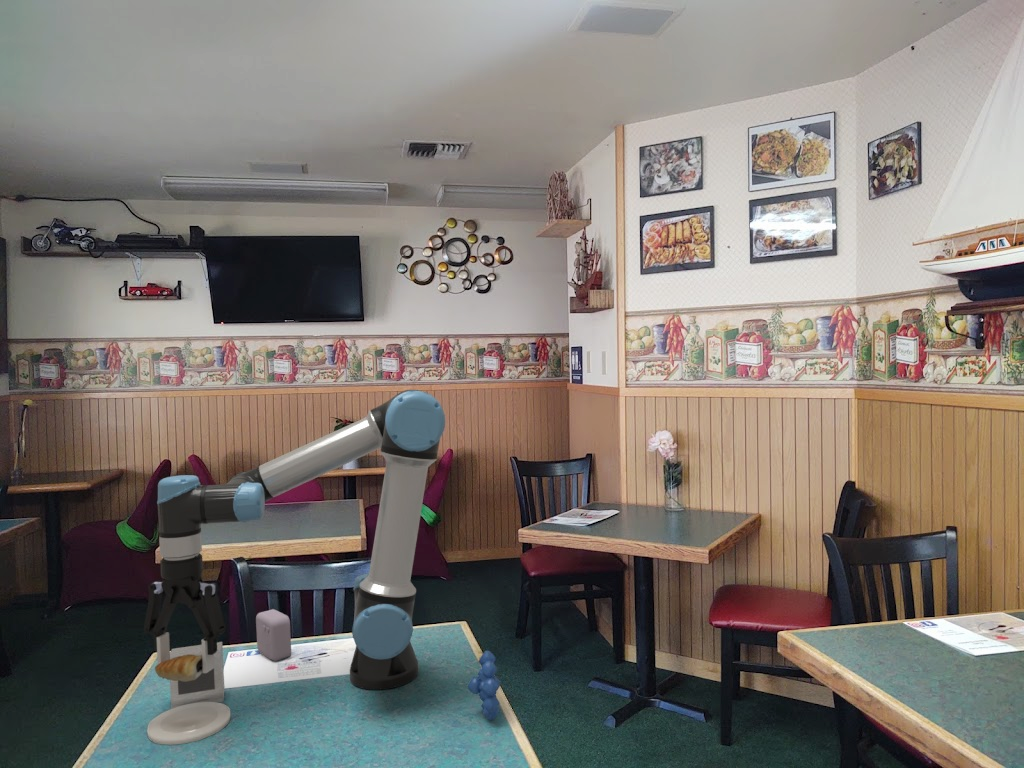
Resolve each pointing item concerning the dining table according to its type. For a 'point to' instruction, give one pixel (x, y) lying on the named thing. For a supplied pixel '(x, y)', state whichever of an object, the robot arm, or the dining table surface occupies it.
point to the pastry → (181, 668)
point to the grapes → (487, 685)
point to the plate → (188, 723)
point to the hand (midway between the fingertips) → (186, 668)
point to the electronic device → (273, 634)
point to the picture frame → (199, 680)
